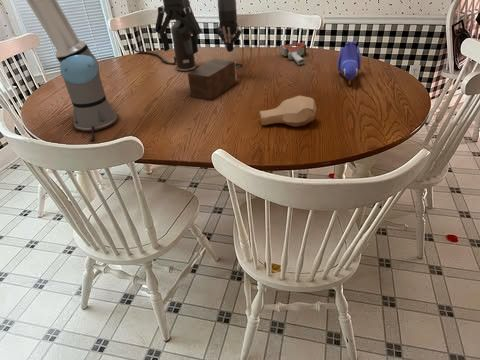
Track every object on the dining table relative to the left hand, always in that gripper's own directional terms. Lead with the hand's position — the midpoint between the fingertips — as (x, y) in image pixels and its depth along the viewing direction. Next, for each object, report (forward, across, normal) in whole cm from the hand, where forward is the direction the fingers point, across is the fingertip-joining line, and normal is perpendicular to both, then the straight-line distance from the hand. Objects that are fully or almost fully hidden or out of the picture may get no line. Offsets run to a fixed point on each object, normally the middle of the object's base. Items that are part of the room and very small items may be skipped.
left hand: (181, 51), depth 144 cm
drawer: (+16, -11, -11) cm, 22 cm away
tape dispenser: (+17, -31, -54) cm, 65 cm away
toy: (+18, -62, -33) cm, 73 cm away
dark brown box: (+17, -10, -5) cm, 21 cm away
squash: (+17, -50, +14) cm, 55 cm away
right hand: (+5, -12, -20) cm, 24 cm away
